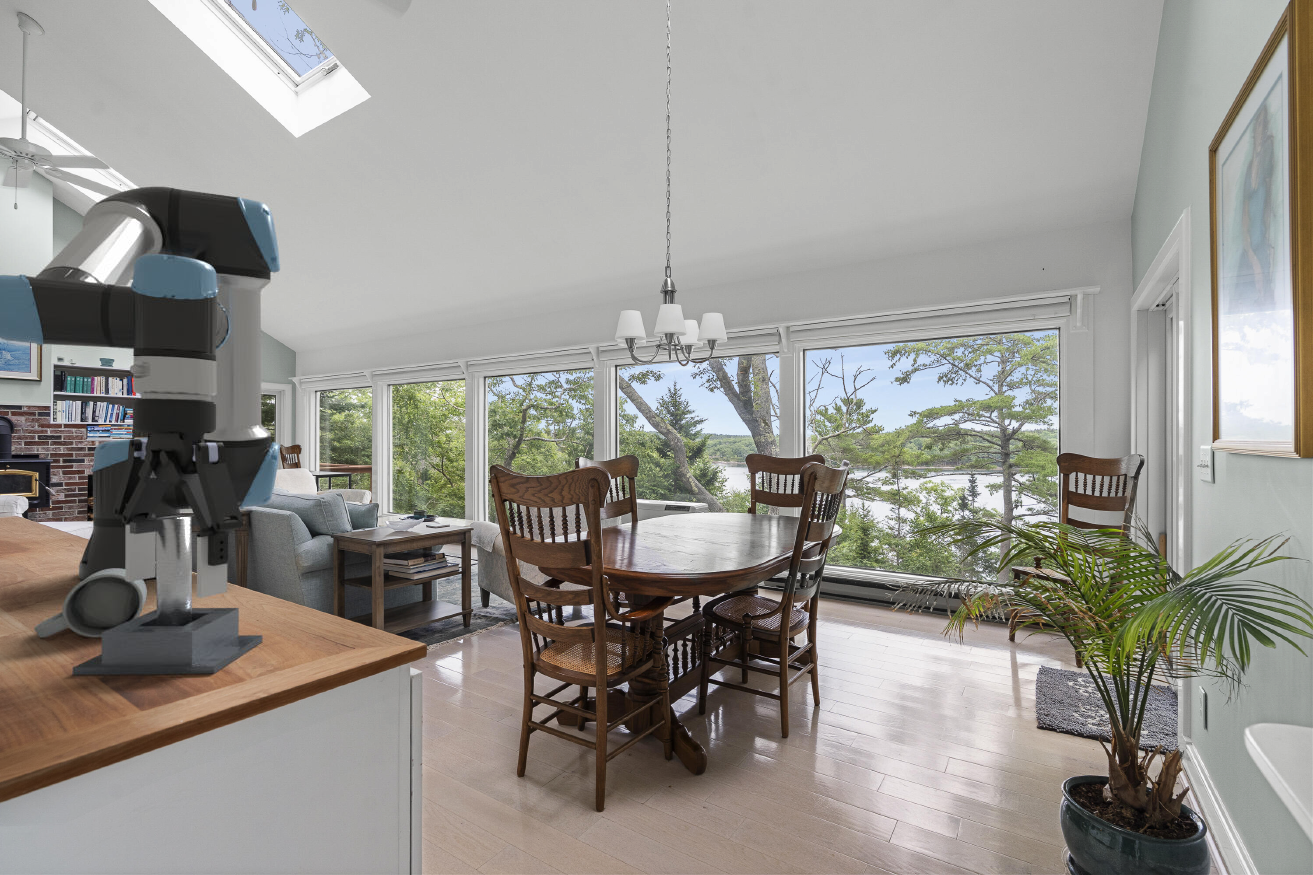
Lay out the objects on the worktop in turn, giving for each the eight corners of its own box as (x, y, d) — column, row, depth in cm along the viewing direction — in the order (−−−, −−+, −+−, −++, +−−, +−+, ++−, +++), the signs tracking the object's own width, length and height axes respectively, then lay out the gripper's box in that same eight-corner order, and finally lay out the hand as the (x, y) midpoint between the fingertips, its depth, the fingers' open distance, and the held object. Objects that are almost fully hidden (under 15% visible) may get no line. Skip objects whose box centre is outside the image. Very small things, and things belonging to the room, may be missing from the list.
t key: (142, 663, 69) (141, 523, 69) (125, 658, 71) (124, 521, 70) (219, 641, 77) (219, 514, 76) (203, 637, 78) (202, 512, 78)
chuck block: (139, 642, 78) (139, 606, 78) (262, 641, 79) (262, 606, 79) (72, 675, 68) (72, 634, 68) (214, 673, 69) (214, 633, 69)
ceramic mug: (148, 615, 89) (147, 559, 88) (143, 632, 82) (142, 571, 82) (42, 629, 83) (41, 569, 82) (27, 648, 76) (26, 583, 76)
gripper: (75, 395, 75) (75, 579, 75) (209, 397, 64) (207, 610, 65) (149, 398, 82) (148, 567, 82) (281, 400, 71) (279, 593, 72)
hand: (175, 586), depth 73 cm, fingers open, 13 cm apart
